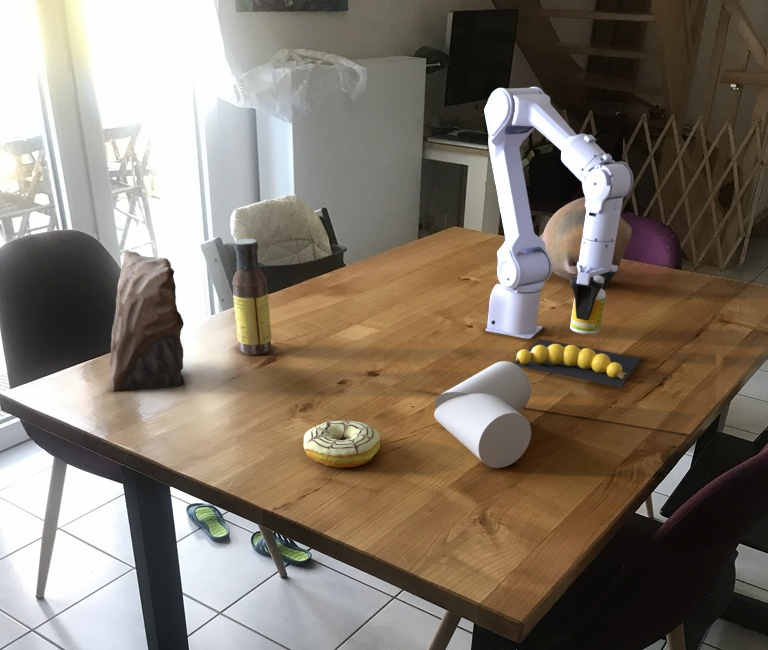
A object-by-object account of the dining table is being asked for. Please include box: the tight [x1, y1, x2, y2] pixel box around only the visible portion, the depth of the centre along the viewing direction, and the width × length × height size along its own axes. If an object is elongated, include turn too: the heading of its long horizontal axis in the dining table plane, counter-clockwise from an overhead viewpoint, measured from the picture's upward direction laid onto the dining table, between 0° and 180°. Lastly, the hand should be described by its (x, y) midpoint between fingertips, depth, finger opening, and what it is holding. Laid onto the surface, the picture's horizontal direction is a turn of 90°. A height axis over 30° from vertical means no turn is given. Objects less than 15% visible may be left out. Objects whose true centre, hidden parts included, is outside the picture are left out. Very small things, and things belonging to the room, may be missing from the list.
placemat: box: [513, 338, 642, 388], centre depth 149 cm, size 20×16×1 cm
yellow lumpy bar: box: [514, 344, 627, 379], centre depth 144 cm, size 20×6×4 cm, turn 70°
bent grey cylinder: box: [433, 360, 532, 469], centre depth 120 cm, size 18×11×20 cm
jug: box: [504, 196, 633, 282], centre depth 192 cm, size 20×20×30 cm
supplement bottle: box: [569, 275, 607, 335], centre depth 146 cm, size 5×5×10 cm
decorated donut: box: [303, 420, 381, 469], centre depth 115 cm, size 10×11×4 cm
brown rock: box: [109, 250, 186, 392], centre depth 133 cm, size 13×13×20 cm
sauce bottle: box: [232, 238, 272, 356], centre depth 145 cm, size 6×6×20 cm
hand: (586, 314), depth 147 cm, fingers closed on supplement bottle, 5 cm apart
